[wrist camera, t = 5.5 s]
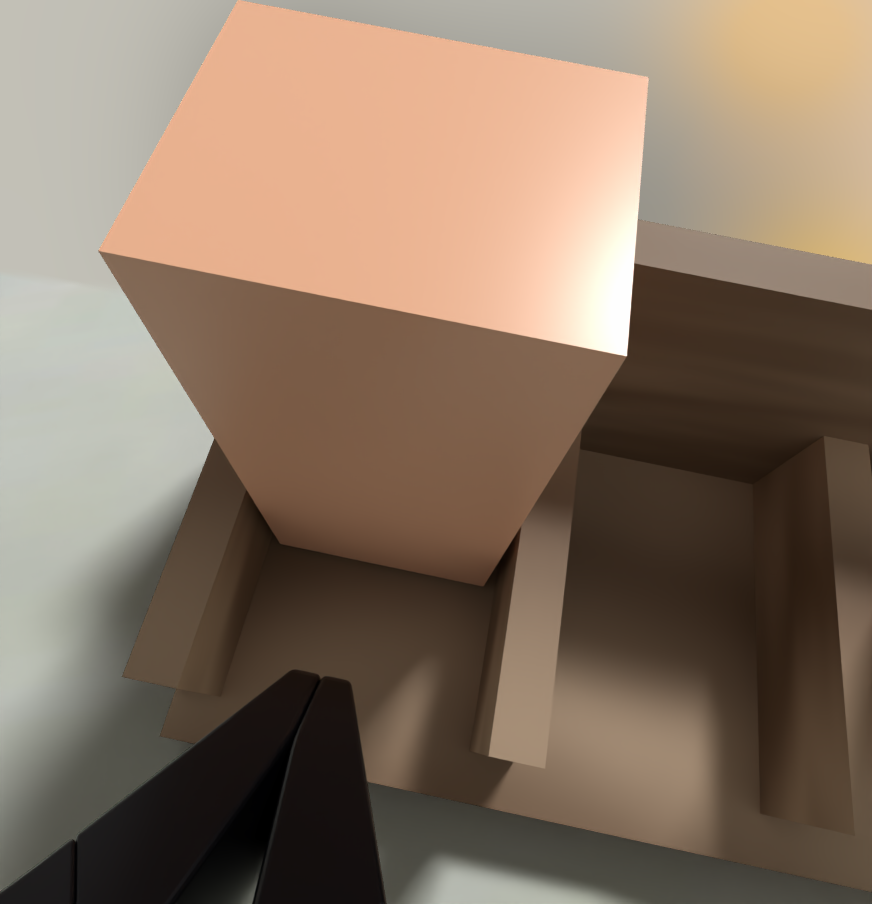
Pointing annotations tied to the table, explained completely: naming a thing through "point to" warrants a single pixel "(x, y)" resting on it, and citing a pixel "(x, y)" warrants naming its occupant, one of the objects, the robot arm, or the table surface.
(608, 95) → the light orange tall block
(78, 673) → the table surface
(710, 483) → the wooden desk organizer
